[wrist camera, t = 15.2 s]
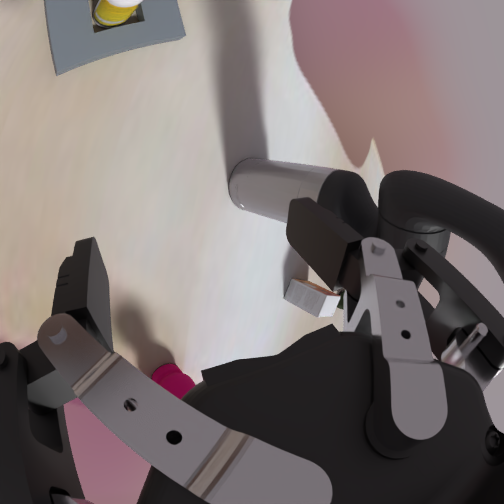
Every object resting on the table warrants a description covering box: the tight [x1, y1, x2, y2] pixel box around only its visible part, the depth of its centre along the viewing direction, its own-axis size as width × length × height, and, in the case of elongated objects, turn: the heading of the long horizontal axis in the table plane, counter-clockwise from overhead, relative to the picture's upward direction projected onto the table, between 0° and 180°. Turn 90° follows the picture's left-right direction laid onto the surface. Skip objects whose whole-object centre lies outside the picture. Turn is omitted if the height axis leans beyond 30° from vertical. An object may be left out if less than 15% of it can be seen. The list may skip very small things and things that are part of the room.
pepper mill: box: [152, 364, 196, 400], centre depth 40 cm, size 7×7×20 cm
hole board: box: [44, 0, 186, 76], centre depth 20 cm, size 18×14×2 cm
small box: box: [284, 278, 341, 317], centre depth 64 cm, size 8×6×10 cm
